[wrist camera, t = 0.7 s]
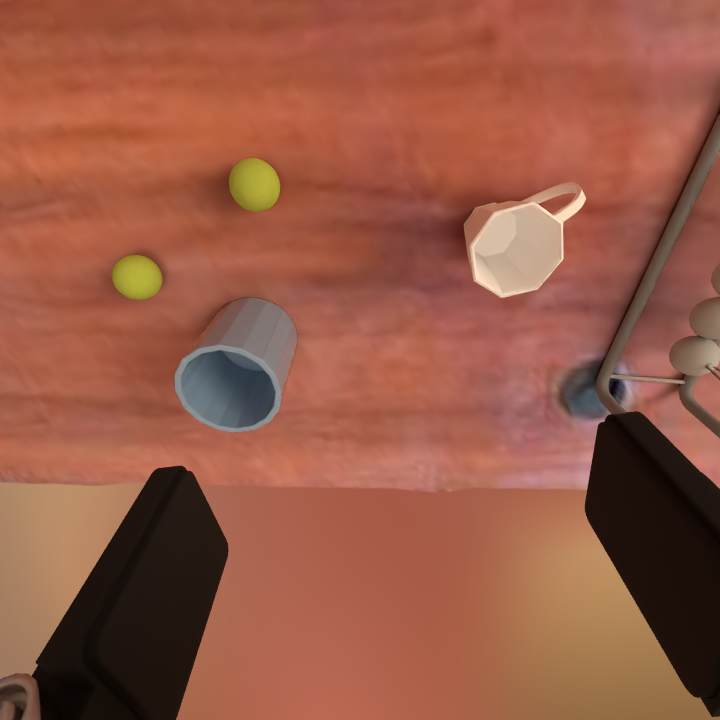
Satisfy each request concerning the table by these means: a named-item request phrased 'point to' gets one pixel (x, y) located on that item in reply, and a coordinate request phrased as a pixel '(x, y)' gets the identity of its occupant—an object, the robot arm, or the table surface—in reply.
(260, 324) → the tumbler
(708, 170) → the newton's cradle
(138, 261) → the plum
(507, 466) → the table surface
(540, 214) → the cup
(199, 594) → the robot arm
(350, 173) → the table surface
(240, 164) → the plum
